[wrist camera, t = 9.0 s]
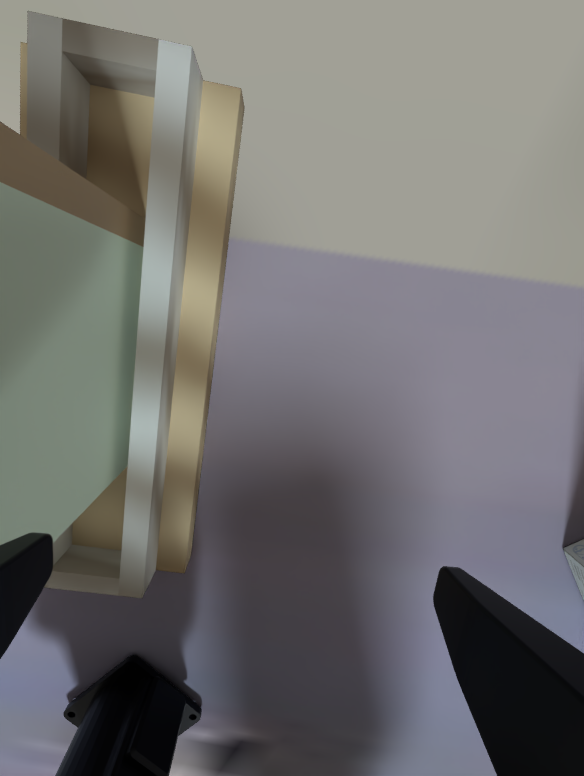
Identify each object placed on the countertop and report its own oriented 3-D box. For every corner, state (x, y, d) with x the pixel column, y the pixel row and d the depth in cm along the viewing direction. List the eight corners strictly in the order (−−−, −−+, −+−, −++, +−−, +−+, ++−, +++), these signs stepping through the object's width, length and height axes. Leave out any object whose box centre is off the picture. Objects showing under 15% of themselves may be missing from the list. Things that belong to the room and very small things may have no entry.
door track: (190, 555, 22) (174, 601, 18) (36, 537, 21) (-11, 581, 18) (244, 107, 17) (235, 55, 13) (44, 66, 16) (-20, 0, 13)
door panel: (128, 464, 19) (-6, 603, 10) (89, 459, 18) (-83, 595, 10) (146, 219, 16) (-12, 113, 7) (101, 211, 16) (-116, 92, 7)
